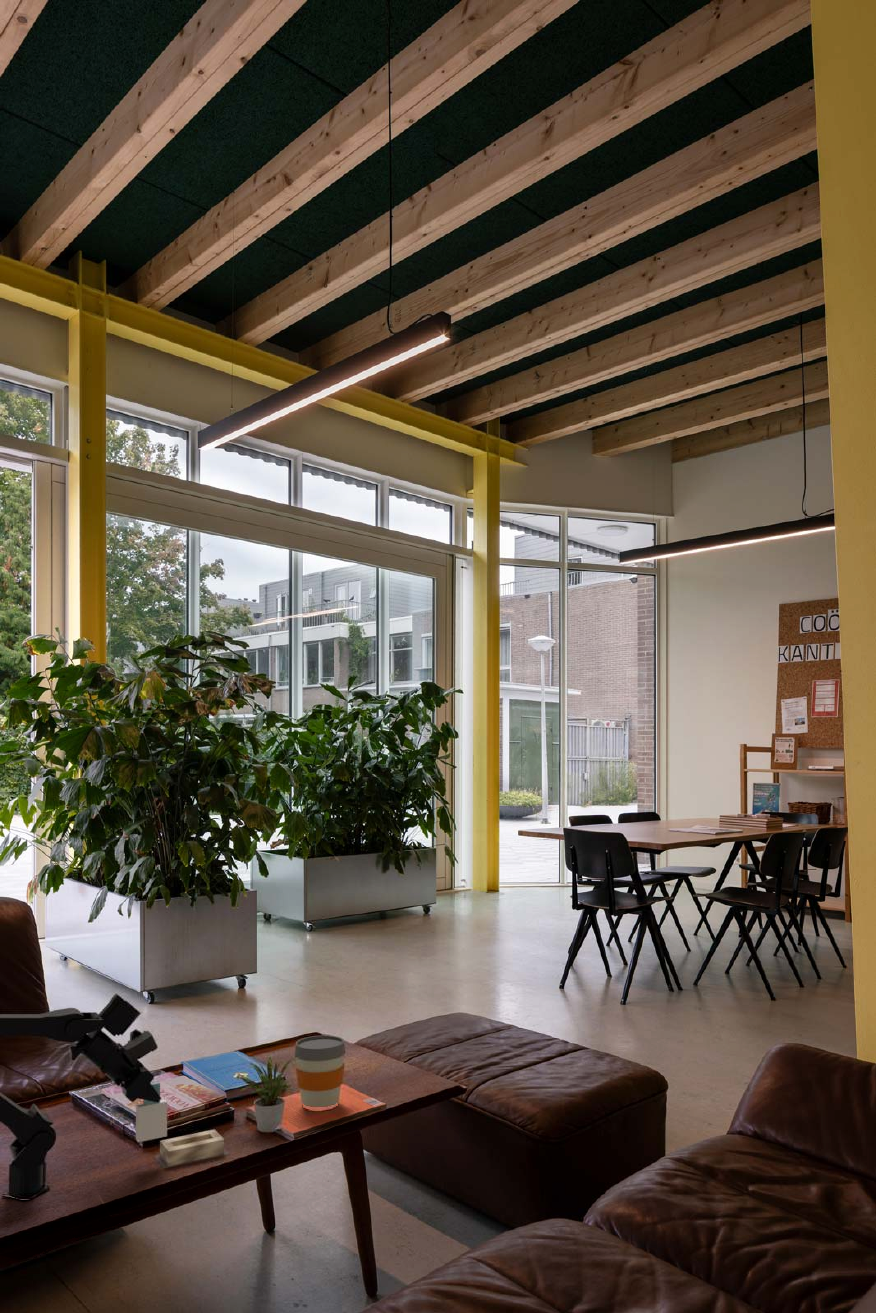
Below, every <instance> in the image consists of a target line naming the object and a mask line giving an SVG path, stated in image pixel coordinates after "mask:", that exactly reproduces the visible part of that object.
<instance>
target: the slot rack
mask: <svg viewBox="0 0 876 1313" xmlns="http://www.w3.org/2000/svg"><path fill="white" fill-rule="evenodd" d="M224 1148H225V1138H224V1137H223V1136H222V1135H221V1134H220V1133H218V1131H217V1130H216V1129H210V1130H204V1131H200V1132H197V1133H191V1134H186V1135H182V1136H176V1137H172V1138H167V1139H162V1140H159V1155H160V1156H161V1158H162V1159H163V1160H164V1161H165V1163H166V1164H167V1165H168V1167H169V1166H173V1165H177V1164H182V1163H186V1162H191V1161H195V1160H200V1159H204V1158H209V1157H213V1156H218V1155H222V1154H224ZM169 1168H170V1167H169Z"/></svg>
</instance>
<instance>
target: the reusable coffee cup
mask: <svg viewBox="0 0 876 1313" xmlns="http://www.w3.org/2000/svg"><path fill="white" fill-rule="evenodd" d="M294 1049H295V1050H294V1058H295V1057H298V1058H296V1059H295V1061H296V1066H295V1072H296V1081H297V1087H298V1088H299V1091H300V1099H301V1104H302V1103H303V1104H304V1105H306V1106H310V1107H328V1106H331V1105H335V1104H336V1103H338V1102H339V1103H340V1093H341V1086H342V1085H343V1082H344V1075H345V1074H344V1073H345V1063H344V1057H345V1054H346V1047H345V1040H344V1038H342V1037H340V1036H336V1035H313V1036H308V1037H303V1038H300V1039H298V1040H297V1041H296V1042H295V1048H294ZM299 1056H300V1057H299Z"/></svg>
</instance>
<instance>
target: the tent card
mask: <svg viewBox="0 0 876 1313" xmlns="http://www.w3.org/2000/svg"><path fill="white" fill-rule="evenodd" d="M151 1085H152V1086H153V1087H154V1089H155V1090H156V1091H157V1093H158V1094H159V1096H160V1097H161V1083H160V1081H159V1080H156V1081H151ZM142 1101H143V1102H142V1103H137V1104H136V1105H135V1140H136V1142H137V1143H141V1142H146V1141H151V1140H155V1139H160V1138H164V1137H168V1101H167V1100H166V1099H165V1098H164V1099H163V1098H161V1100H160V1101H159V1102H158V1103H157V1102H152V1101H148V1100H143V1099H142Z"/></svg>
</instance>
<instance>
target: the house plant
mask: <svg viewBox="0 0 876 1313" xmlns="http://www.w3.org/2000/svg"><path fill="white" fill-rule="evenodd" d="M299 1057H300V1056H299ZM296 1058H298V1057H295V1056H294V1057H293V1058H290V1060H288V1058H287V1059H284V1060H282V1061H280V1063H278V1061H277V1060H276V1061H275V1064H274V1068H273V1058H272V1055H271V1054H270V1053H269V1055H268V1058H267V1064H266V1065H267V1067H266V1070H265V1068H264V1067H263V1065H262V1064H261V1063H260V1062H259V1061H257V1060H255V1062H256V1063H257V1064H259V1066H260V1067H261V1068H260V1067H259V1066H258V1065H256V1064H255V1063H252V1062H250V1061H243V1062H244V1063H246V1064H249V1065H250V1067H251V1068H253V1069H254V1070H255V1071H256V1072H257V1074H258V1077H259V1078H260V1079H259V1078H258V1077H257V1076H256V1075H255V1074H254V1073H253V1072H252V1071H250V1070H249V1069H246V1068H245V1071H248V1072H250V1073H251V1074H253V1076H254V1077H255V1078H257V1080H260V1082H261V1083H260V1084H261V1085H260V1084H259V1083H258V1082H255V1081H253V1080H252V1079H249V1078H248V1077H245V1076H239V1075H236V1077H237V1078H238V1079H240V1080H242V1081H243V1082H244V1083H245V1084H247V1085H248V1086H245V1087H243V1088H242V1089H241V1090H240V1091H244V1090H247V1089H252V1090H254V1092H256V1094H257V1095H259V1098H258V1099H256V1100H254V1101H253V1106H254V1114H255V1119H256V1125H257V1126H256V1127H257V1130H258V1132H262V1133H274V1132H276V1131H275V1128H277V1126H279V1125H281V1126H282V1121H283V1115H284V1108H285V1102H286V1101H285V1100H286V1099H285V1098H283V1097H281V1096H280V1094H281V1093H282V1092H283V1091H284V1090H287V1089H288V1091H289V1092H290V1087H291V1086H290V1085H286V1084H288V1083H293V1082H292V1080H291V1081H290V1080H286V1079H284V1077H286V1075H288V1074H287V1073H289V1071H291V1069H292V1068H293V1065H292V1066H291V1067H290V1068H289V1069H288V1070H287V1068H288V1067H289V1066H290V1065H291V1064H292V1062H293V1061H295V1060H296ZM287 1060H288V1061H287ZM285 1061H287V1062H286V1063H285V1064H284V1066H283V1067H282V1069H281V1071H280V1073H279V1074H277V1072H278V1069H279V1067H280V1065H281V1064H282V1063H284V1062H285ZM241 1069H242V1070H244V1068H241ZM261 1069H262V1070H261ZM286 1070H287V1071H286ZM285 1071H286V1073H285ZM284 1073H285V1074H284ZM283 1075H284V1076H283Z"/></svg>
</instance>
